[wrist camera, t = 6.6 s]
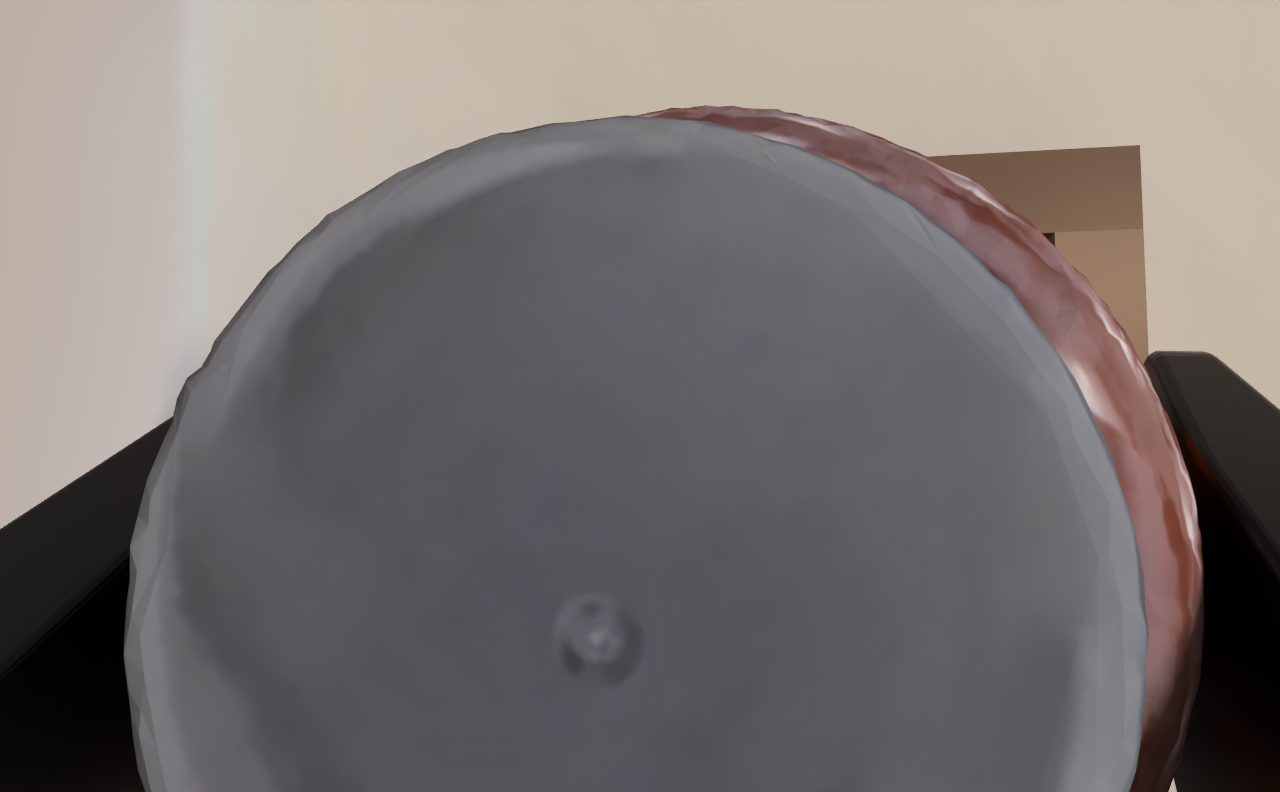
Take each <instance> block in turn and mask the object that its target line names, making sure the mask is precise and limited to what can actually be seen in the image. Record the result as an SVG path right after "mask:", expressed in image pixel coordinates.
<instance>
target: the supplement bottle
mask: <svg viewBox="0 0 1280 792" xmlns="http://www.w3.org/2000/svg"><path fill="white" fill-rule="evenodd" d="M1203 634H1204V564H1203V558H1202V543H1201V533H1200V529H1199V526H1198V517H1197V507H1196V500H1195V495H1194V492H1193V488H1192V485H1191V481H1190V477H1189V474H1188V471H1187V468H1186V465H1185V462H1184V459H1183V456H1182V453H1181V450H1180V447H1179V443H1178V440H1177V437H1176V434H1175V432H1174V429H1173V427H1172V424H1171V422H1170V419H1169V417H1168V414H1167V413H1166V411H1165V410H1164V408H1163V406H1162V404H1161V402H1160V400H1159V398H1158V396H1157V394H1156V392H1155V390H1154V388H1153V385H1152V382H1151V379H1150V376H1149V374H1148V372H1147V370H1146V368H1145V366H1144V364H1143V363H1142V362H1141V361H1140V359H1139V358H1138V355H1137V353H1136V351H1135V349H1134V347H1133V345H1132V342H1131V341H1130V339H1129V337H1128V335H1127V333H1126V331H1125V330H1124V329H1123V328H1122V326H1121V325H1120V324H1119V323H1118V322H1117V320H1116V319H1115V318H1114V316H1113V314H1112V312H1111V310H1110V308H1109V306H1108V305H1107V304H1106V303H1105V302H1104V301H1103V300H1102V299H1101V298H1100V297H1099V296H1098V295H1097V293H1096V291H1095V290H1094V288H1093V287H1092V285H1091V283H1090V282H1089V280H1088V278H1087V277H1086V276H1085V275H1083V274H1082V273H1081V272H1079V271H1078V270H1077V269H1076V268H1074V267H1073V266H1072V265H1071V264H1070V262H1069V261H1068V260H1067V259H1066V258H1065V257H1064V256H1063V255H1062V254H1061V253H1060V251H1059V250H1058V249H1057V248H1056V247H1055V246H1054V245H1053V244H1051V243H1050V241H1049V240H1048V239H1047V238H1046V237H1045V236H1044V235H1043V234H1042V233H1041V232H1040V231H1039V230H1038V229H1037V228H1036V227H1035V225H1034V224H1033V223H1032V222H1031V221H1030V220H1029V219H1028V218H1026V217H1024V216H1022V215H1020V214H1018V213H1016V212H1014V211H1013V210H1012V208H1011V207H1010V206H1009V205H1008V204H1006V203H1004V202H1002V201H1000V200H998V199H997V198H995V197H994V196H993V195H992V194H990V193H989V192H988V191H986V189H985V188H984V187H983V185H982V184H981V183H980V182H979V181H977V180H974V179H972V178H970V177H968V176H965V175H963V174H961V173H959V172H956V171H954V170H952V169H950V168H948V167H945V166H943V165H941V164H939V163H937V162H935V161H933V160H931V159H929V158H928V157H926V156H924V155H922V154H920V153H918V152H916V151H913V150H910V149H907V148H904V147H901V146H898V145H896V144H894V143H892V142H890V141H888V140H886V139H884V138H882V137H879V136H876V135H873V134H870V133H867V132H864V131H861V130H859V129H857V128H855V127H851V126H847V125H843V124H838V123H835V122H831V121H827V120H823V119H820V118H814V117H805V116H802V115H799V114H795V113H786V112H783V111H781V110H778V109H749V108H741V107H735V106H724V107H715V106H699V107H692V108H683V109H681V108H670V109H666V110H662V111H657V112H651V113H647V114H642V115H637V116H618V117H610V118H602V119H594V120H586V121H578V122H567V123H552V124H547V125H543V126H538V127H534V128H529V129H525V130H520V131H516V132H512V133H499V134H495V135H491V136H488V137H485V138H482V139H479V140H476V141H474V142H471V143H469V144H466V145H464V146H461V147H459V148H455V149H450V150H447V151H445V152H443V153H441V154H439V155H436V156H434V157H432V158H430V159H428V160H426V161H424V162H421V163H419V164H416V165H414V166H412V167H409V168H407V169H404V170H402V171H399V172H398V173H396V174H395V175H393V176H391V177H390V178H388V179H387V180H385V181H384V182H382V183H381V184H379V185H377V186H376V187H374V188H373V189H371V190H369V191H368V192H366V193H364V194H363V195H361V196H359V197H358V198H356V199H354V200H353V201H351V202H349V203H348V204H346V205H344V206H343V207H341V208H339V209H338V210H336V211H334V212H331V213H329V214H327V215H326V217H325V218H324V219H323V220H322V221H321V222H320V223H319V224H318V225H317V226H316V227H315V228H314V229H313V230H311V231H310V232H309V233H308V234H307V235H306V236H304V237H303V238H302V239H301V240H300V241H299V242H297V243H296V244H295V246H294V247H293V248H292V249H291V250H290V251H289V252H288V253H287V254H286V256H285V257H284V258H283V259H282V260H281V261H280V262H279V263H278V264H277V265H276V266H274V267H273V268H272V269H271V270H270V271H269V272H268V273H267V274H266V275H265V277H264V278H263V279H262V281H261V282H260V283H259V284H258V286H257V287H256V288H255V290H254V291H253V292H252V294H251V295H250V296H249V297H248V299H247V300H246V301H245V303H244V304H243V305H242V306H241V308H240V309H239V310H238V312H237V313H236V314H235V315H234V317H233V318H232V319H231V321H230V322H229V323H228V325H227V326H226V327H225V328H224V330H223V331H222V332H221V334H220V335H219V336H218V337H217V339H216V340H215V341H214V344H213V347H212V349H211V352H210V353H209V355H208V357H207V358H206V360H205V362H204V364H203V365H202V367H201V368H200V369H198V370H197V371H196V372H194V373H193V374H192V375H190V376H189V377H188V378H187V380H186V382H185V384H184V386H183V388H182V390H181V392H180V394H179V396H178V398H177V402H176V407H175V411H174V416H173V421H172V423H171V426H170V428H169V430H168V432H167V434H166V436H165V438H164V441H163V443H162V445H161V448H160V450H159V452H158V455H157V457H156V459H155V462H154V464H153V467H152V469H151V471H150V474H149V476H148V479H147V482H146V486H145V490H144V493H143V497H142V501H141V505H140V509H139V513H138V517H137V521H136V525H135V528H134V532H133V536H132V540H131V544H130V583H129V589H128V596H127V603H126V619H125V634H124V664H125V672H126V680H127V688H128V695H129V703H130V711H131V723H132V734H133V742H134V748H135V755H136V761H137V767H138V772H139V775H140V778H141V780H142V783H143V786H144V789H145V792H1168V791H1169V788H1170V785H1171V783H1172V780H1173V777H1174V775H1175V772H1176V770H1177V768H1178V766H1179V763H1180V761H1181V758H1182V754H1183V750H1184V745H1185V739H1186V733H1187V728H1188V726H1189V723H1190V720H1191V718H1192V712H1193V706H1194V700H1195V697H1196V694H1197V691H1198V686H1199V681H1200V675H1201V664H1202V650H1203Z"/></svg>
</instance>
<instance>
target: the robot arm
mask: <svg viewBox="0 0 1280 792" xmlns="http://www.w3.org/2000/svg"><path fill="white" fill-rule="evenodd" d="M1144 366H1145V368H1146V370H1147V372H1148V374H1149V376H1150V379H1151V382H1152V385H1153V388H1154V390H1155V392H1156V394H1157V396H1158V398H1159V400H1160V402H1161V404H1162V406H1163V408H1164V410H1165V411H1166V413H1167V414H1168V417H1169V419H1170V422H1171V424H1172V427H1173V429H1174V432H1175V434H1176V437H1177V440H1178V443H1179V447H1180V450H1181V453H1182V456H1183V459H1184V462H1185V465H1186V468H1187V471H1188V474H1189V477H1190V481H1191V485H1192V488H1193V492H1194V495H1195V500H1196V507H1197V517H1198V526H1199V529H1200V533H1201V543H1202V558H1203V564H1204V634H1203V650H1202V664H1201V675H1200V681H1199V686H1198V691H1197V694H1196V697H1195V700H1194V706H1193V712H1192V718H1191V720H1190V723H1189V726H1188V728H1187V733H1186V739H1185V745H1184V750H1183V754H1182V758H1181V761H1180V763H1179V766H1178V768H1177V770H1176V772H1175V775H1174V781H1175V785H1176V789H1177V792H1280V409H1278V408H1277V407H1276V406H1275V405H1274V404H1272V403H1271V402H1270V401H1269V400H1268V399H1266V398H1265V397H1264V396H1263V395H1262V394H1260V393H1259V392H1258V391H1257V390H1256V389H1254V388H1253V387H1252V386H1251V385H1250V384H1248V383H1247V382H1246V381H1245V380H1244V379H1242V378H1241V377H1240V376H1239V375H1238V374H1236V373H1235V372H1234V371H1233V370H1232V369H1230V368H1229V367H1228V366H1227V365H1226V364H1224V363H1223V362H1222V361H1221V360H1220V359H1218V358H1217V357H1215V356H1214V355H1212V354H1210V353H1207V352H1192V351H1155V352H1153V353H1152V354H1150V355H1149V356H1148V357H1147V358H1146V360H1145V362H1144ZM172 421H173V417H171V418H170V419H168V420H167V421H165V422H163V423H162V424H160V425H159V426H157V427H156V428H154V429H153V430H151V431H150V432H148V433H147V434H145V435H144V436H142V437H141V438H139V439H137V440H136V441H134V442H133V443H132V444H130V445H128V446H127V447H125V448H124V449H122V450H121V451H119V452H118V453H116V454H115V455H113V456H112V457H110V458H108V459H107V460H106V461H104V462H102V463H101V464H99V465H98V466H96V467H95V468H93V469H92V470H90V471H89V472H87V473H85V474H84V475H82V476H81V477H79V478H78V479H76V480H75V481H73V482H72V483H70V484H69V485H67V486H66V487H64V488H63V489H61V490H59V491H58V492H57V493H55V494H53V495H52V496H50V497H49V498H47V499H46V500H44V501H43V502H41V503H40V504H38V505H37V506H35V507H34V508H32V509H30V510H29V511H27V512H26V513H24V514H23V515H22V516H20V517H18V518H17V519H15V520H14V521H12V522H11V523H9V524H8V525H6V526H4V527H3V528H1V529H0V792H145V789H144V786H143V783H142V780H141V778H140V775H139V772H138V767H137V761H136V755H135V748H134V742H133V734H132V723H131V711H130V703H129V695H128V688H127V680H126V672H125V664H124V634H125V619H126V603H127V596H128V589H129V583H130V544H131V540H132V536H133V532H134V528H135V525H136V521H137V517H138V513H139V509H140V505H141V501H142V497H143V493H144V490H145V486H146V482H147V479H148V476H149V474H150V471H151V469H152V467H153V464H154V462H155V459H156V457H157V455H158V452H159V450H160V448H161V445H162V443H163V441H164V438H165V436H166V434H167V432H168V430H169V428H170V426H171V423H172Z"/></svg>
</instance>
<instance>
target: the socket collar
mask: <svg viewBox="0 0 1280 792" xmlns="http://www.w3.org/2000/svg"><path fill="white" fill-rule="evenodd" d="M928 158H929V159H931V160H933V161H935V162H937V163H939V164H941V165H943V166H945V167H948V168H950V169H952V170H954V171H956V172H959V173H961V174H963V175H965V176H968V177H970V178H972V179H974V180H977V181H979V182H980V183H981V184H982V185H983V187H984V188H985V189H986V191H988V192H989V193H990V194H992V195H993V196H994V197H995V198H997V199H998V200H1000V201H1002V202H1004V203H1006V204H1008V205H1009V206H1010V207H1011V208H1012V210H1013V211H1014V212H1016V213H1018V214H1020V215H1022V216H1024V217H1026V218H1028V219H1029V220H1030V221H1031V222H1032V223H1033V224H1034V225H1035V227H1036V228H1037V229H1038V230H1039V231H1040V232H1041V233H1042V234H1043V235H1044V236H1045V237H1046V238H1047V239H1048V240H1049V241H1050V243H1051V244H1053V245H1054V246H1055V247H1056V248H1057V249H1058V250H1059V251H1060V253H1061V254H1062V255H1063V256H1064V257H1065V258H1066V259H1067V260H1068V261H1069V262H1070V264H1071V265H1072V266H1073V267H1074V268H1076V269H1077V270H1078V271H1079V272H1081V273H1082V274H1083V275H1085V276H1086V277H1087V278H1088V280H1089V282H1090V283H1091V285H1092V287H1093V288H1094V290H1095V291H1096V293H1097V295H1098V296H1099V297H1100V298H1101V299H1102V300H1103V301H1104V302H1105V303H1106V304H1107V305H1108V306H1109V308H1110V310H1111V312H1112V314H1113V316H1114V318H1115V319H1116V320H1117V322H1118V323H1119V324H1120V325H1121V326H1122V328H1123V329H1124V330H1125V331H1126V333H1127V335H1128V337H1129V339H1130V341H1131V342H1132V345H1133V347H1134V349H1135V351H1136V353H1137V355H1138V358H1139V359H1140V361H1141V362H1142V363H1143V364H1144V362H1145V360H1146V358H1147V357H1148V332H1147V308H1146V284H1145V260H1144V236H1143V212H1142V188H1141V164H1140V145H1136V146H1118V147H1099V148H1081V149H1062V150H1044V151H1025V152H1007V153H988V154H970V155H951V156H933V157H928Z"/></svg>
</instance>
